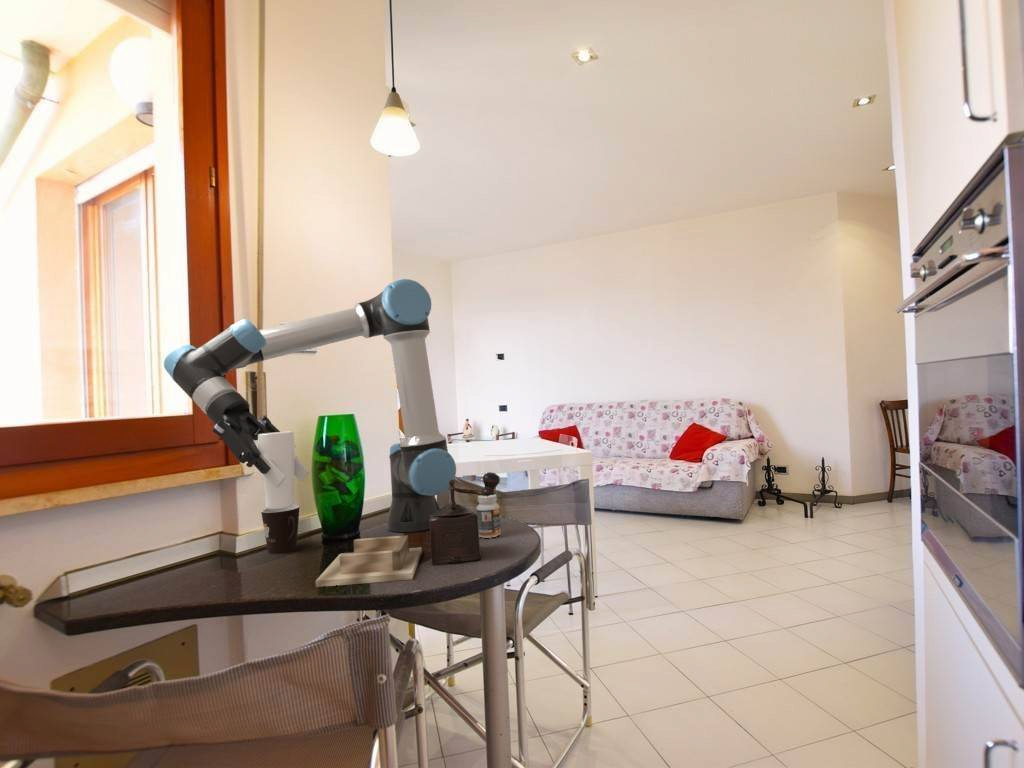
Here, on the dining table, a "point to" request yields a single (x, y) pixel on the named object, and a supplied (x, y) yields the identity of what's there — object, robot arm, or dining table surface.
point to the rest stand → (373, 562)
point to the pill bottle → (488, 516)
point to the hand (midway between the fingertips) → (293, 479)
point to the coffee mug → (281, 528)
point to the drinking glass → (279, 467)
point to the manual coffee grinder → (458, 527)
